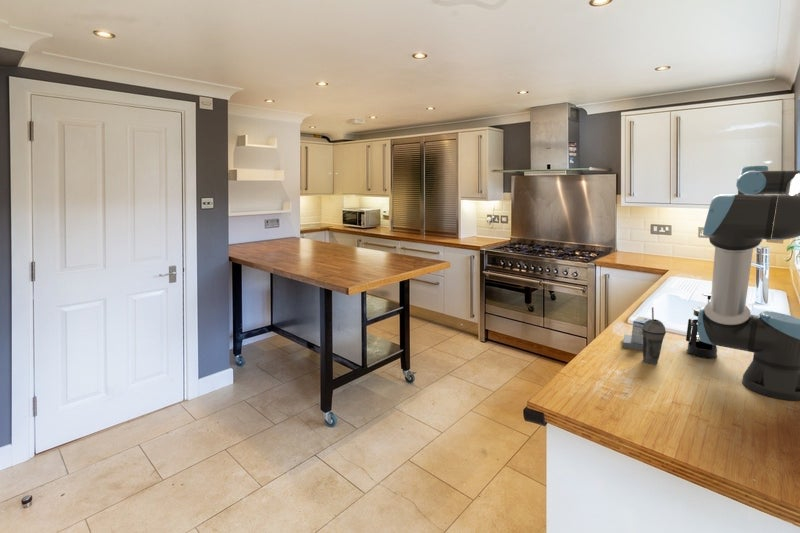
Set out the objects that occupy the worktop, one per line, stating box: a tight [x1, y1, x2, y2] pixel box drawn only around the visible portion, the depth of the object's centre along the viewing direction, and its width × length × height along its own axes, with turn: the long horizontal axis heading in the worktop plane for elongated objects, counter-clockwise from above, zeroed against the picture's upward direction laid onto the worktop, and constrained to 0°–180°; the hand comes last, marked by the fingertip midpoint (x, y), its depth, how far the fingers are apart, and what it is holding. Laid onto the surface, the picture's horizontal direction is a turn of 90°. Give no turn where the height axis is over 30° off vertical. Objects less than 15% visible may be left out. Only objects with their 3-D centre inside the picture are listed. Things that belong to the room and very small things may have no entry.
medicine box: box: [631, 316, 652, 345], centre depth 167 cm, size 8×4×9 cm, turn 138°
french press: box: [685, 292, 718, 360], centre depth 159 cm, size 12×9×23 cm
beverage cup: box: [642, 307, 667, 365], centre depth 152 cm, size 7×7×20 cm
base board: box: [622, 333, 643, 352], centre depth 168 cm, size 10×11×3 cm
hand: (739, 269), depth 156 cm, fingers open, 13 cm apart
